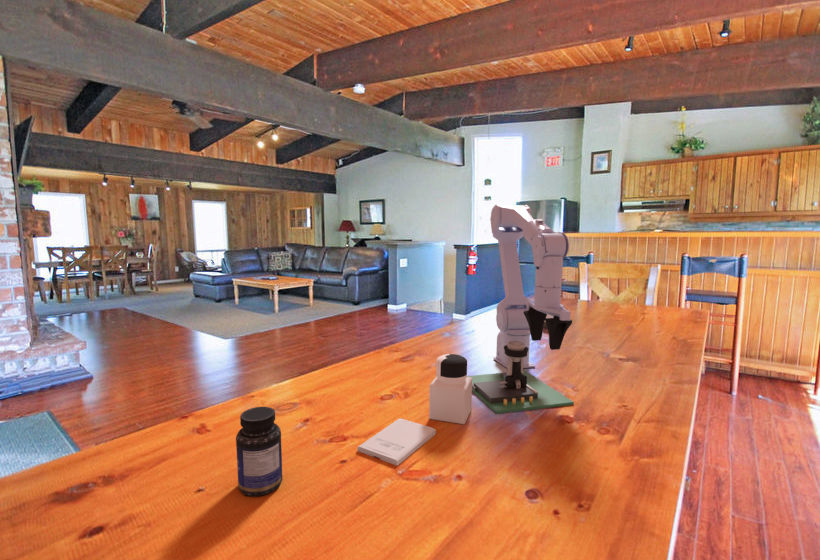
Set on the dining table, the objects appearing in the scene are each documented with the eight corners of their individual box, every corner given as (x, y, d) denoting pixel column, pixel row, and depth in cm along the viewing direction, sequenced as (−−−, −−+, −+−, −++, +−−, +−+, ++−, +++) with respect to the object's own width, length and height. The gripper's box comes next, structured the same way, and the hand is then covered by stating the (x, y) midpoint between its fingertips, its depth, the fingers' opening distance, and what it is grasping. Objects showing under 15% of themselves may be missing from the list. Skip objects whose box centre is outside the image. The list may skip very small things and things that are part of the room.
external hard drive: (435, 437, 78) (397, 469, 67) (398, 425, 82) (357, 454, 72) (436, 428, 78) (397, 459, 67) (398, 417, 82) (357, 445, 72)
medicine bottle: (471, 410, 88) (473, 353, 86) (464, 425, 81) (466, 364, 80) (438, 405, 90) (439, 349, 89) (428, 419, 83) (429, 360, 82)
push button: (506, 393, 92) (508, 348, 90) (492, 385, 97) (494, 342, 95) (531, 389, 94) (533, 345, 93) (517, 381, 99) (518, 339, 98)
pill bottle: (245, 473, 65) (242, 404, 64) (286, 471, 66) (284, 403, 64) (232, 499, 59) (228, 423, 57) (277, 497, 59) (274, 422, 58)
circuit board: (459, 379, 105) (459, 372, 105) (524, 373, 110) (525, 366, 110) (496, 413, 86) (496, 405, 86) (573, 404, 91) (574, 396, 90)
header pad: (473, 387, 98) (473, 381, 98) (516, 383, 101) (517, 377, 101) (490, 403, 89) (491, 396, 89) (537, 398, 92) (537, 391, 92)
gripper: (584, 290, 91) (580, 352, 93) (545, 281, 105) (543, 335, 107) (554, 291, 89) (551, 354, 91) (519, 282, 103) (517, 337, 105)
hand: (545, 344), depth 99 cm, fingers open, 7 cm apart
